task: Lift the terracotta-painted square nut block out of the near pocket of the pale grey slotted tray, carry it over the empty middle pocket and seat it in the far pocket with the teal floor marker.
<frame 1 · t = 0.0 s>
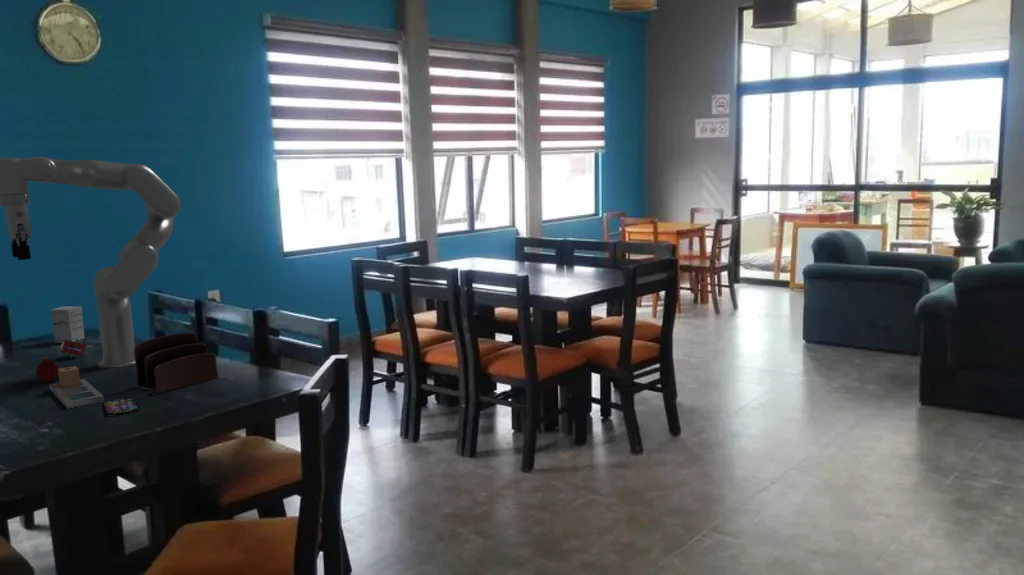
hand: (21, 258, 246), 37 cm above the table, tool pointing down, fingers open, 9 cm apart
pale grey slotted tray: (76, 397, 229), on the table
red box: (75, 357, 278), on the table
letter holder: (178, 384, 241), on the table
supplement box: (69, 342, 303), on the table
onion: (49, 383, 245), on the table
smartphone: (121, 409, 218), on the table
square nut: (70, 389, 235), point 1 cm above the table, touching pale grey slotted tray
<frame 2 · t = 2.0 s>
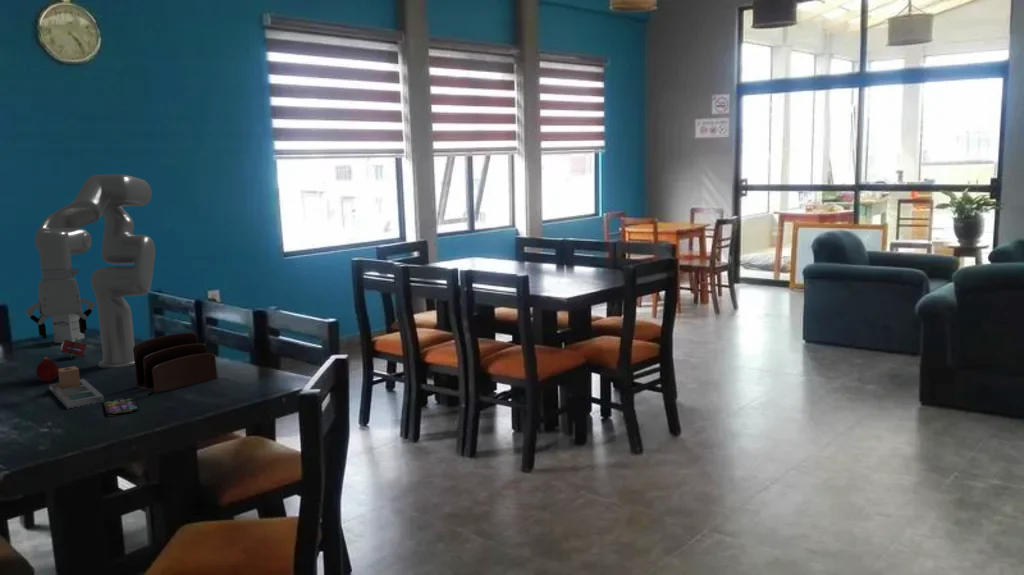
hand: (63, 335, 232), 16 cm above the table, tool pointing down, fingers open, 9 cm apart
nothing on the table moved.
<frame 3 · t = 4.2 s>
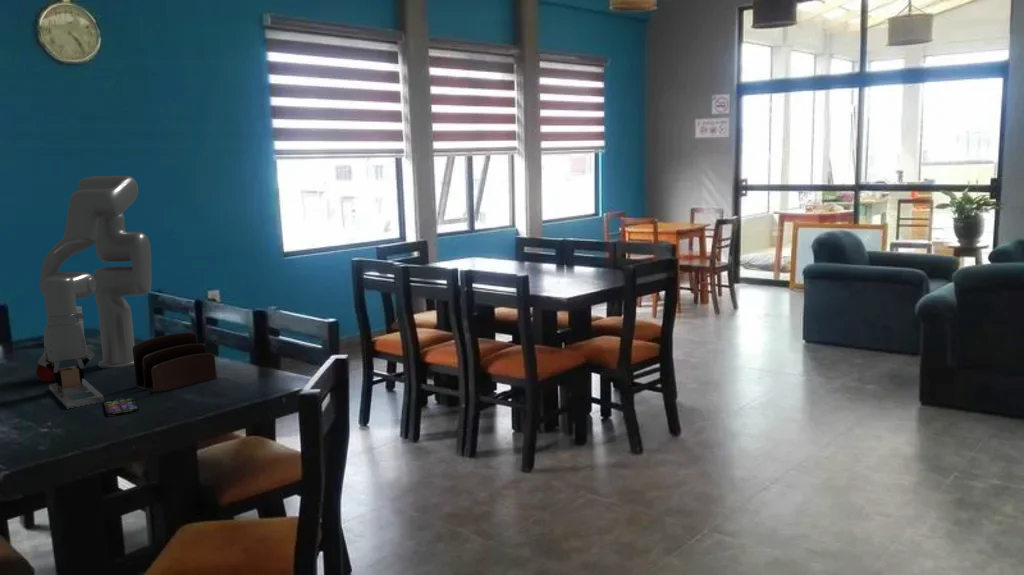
hand: (69, 382, 234), 3 cm above the table, tool pointing down, fingers closed on square nut, 4 cm apart
square nut: (70, 389, 235), point 1 cm above the table, touching gripper, pale grey slotted tray
everything else where it was.
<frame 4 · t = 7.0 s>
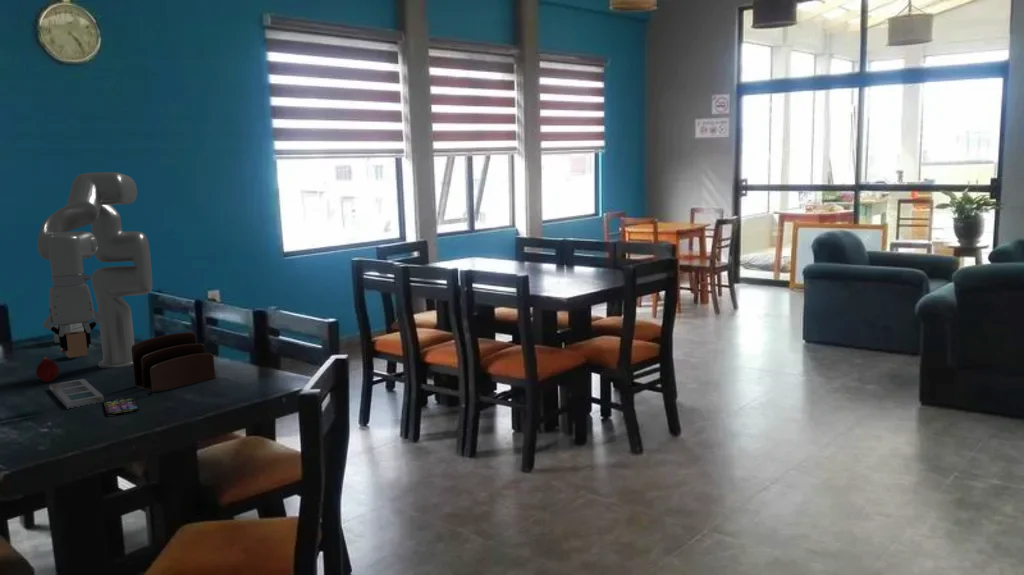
hand: (76, 348, 221), 15 cm above the table, tool pointing down, fingers closed on square nut, 4 cm apart
square nut: (76, 355, 221), point 13 cm above the table, touching gripper
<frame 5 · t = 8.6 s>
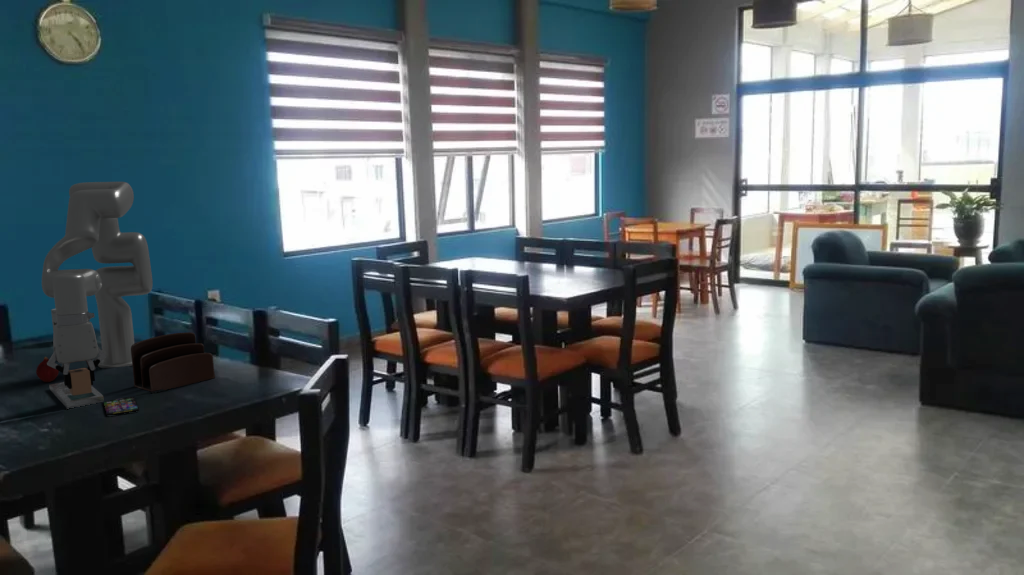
hand: (80, 385, 222), 5 cm above the table, tool pointing down, fingers closed on square nut, 4 cm apart
square nut: (80, 392, 223), point 3 cm above the table, touching gripper
when the fingers open (3 cm above the table, at t = 9.7 s): square nut stays where it is, resting on pale grey slotted tray.
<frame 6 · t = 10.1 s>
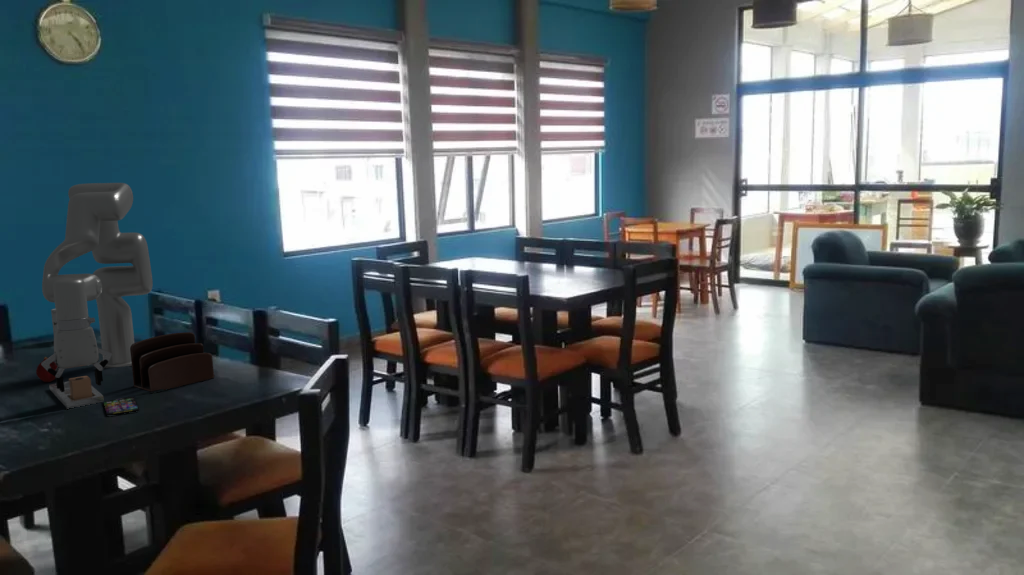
hand: (80, 387, 223), 4 cm above the table, tool pointing down, fingers open, 8 cm apart
square nut: (82, 400, 223), point 1 cm above the table, touching pale grey slotted tray
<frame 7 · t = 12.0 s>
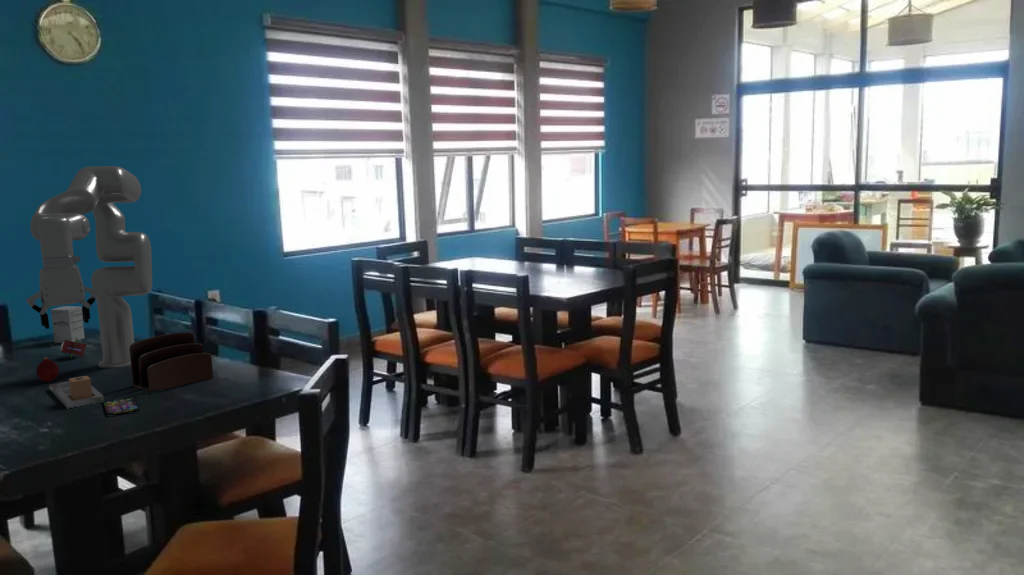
hand: (66, 324, 224), 21 cm above the table, tool pointing down, fingers open, 9 cm apart
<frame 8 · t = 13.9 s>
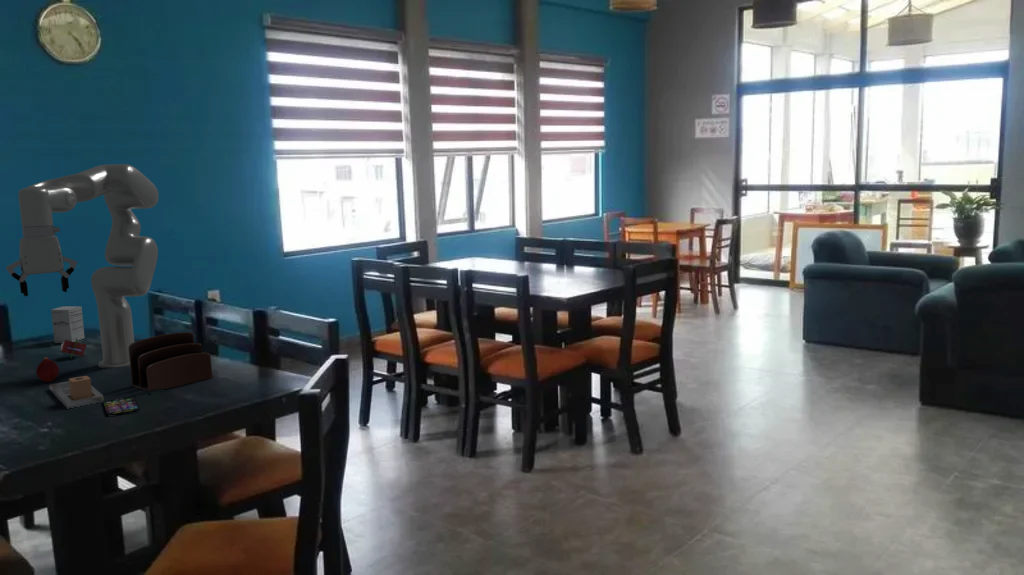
hand: (45, 293, 231), 28 cm above the table, tool pointing down, fingers open, 9 cm apart
at the end: square nut 0.1 cm from the target spot on the pale grey slotted tray, point 0.7 cm above the pale grey slotted tray's base; square nut tilted 0°; the gripper is holding nothing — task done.
